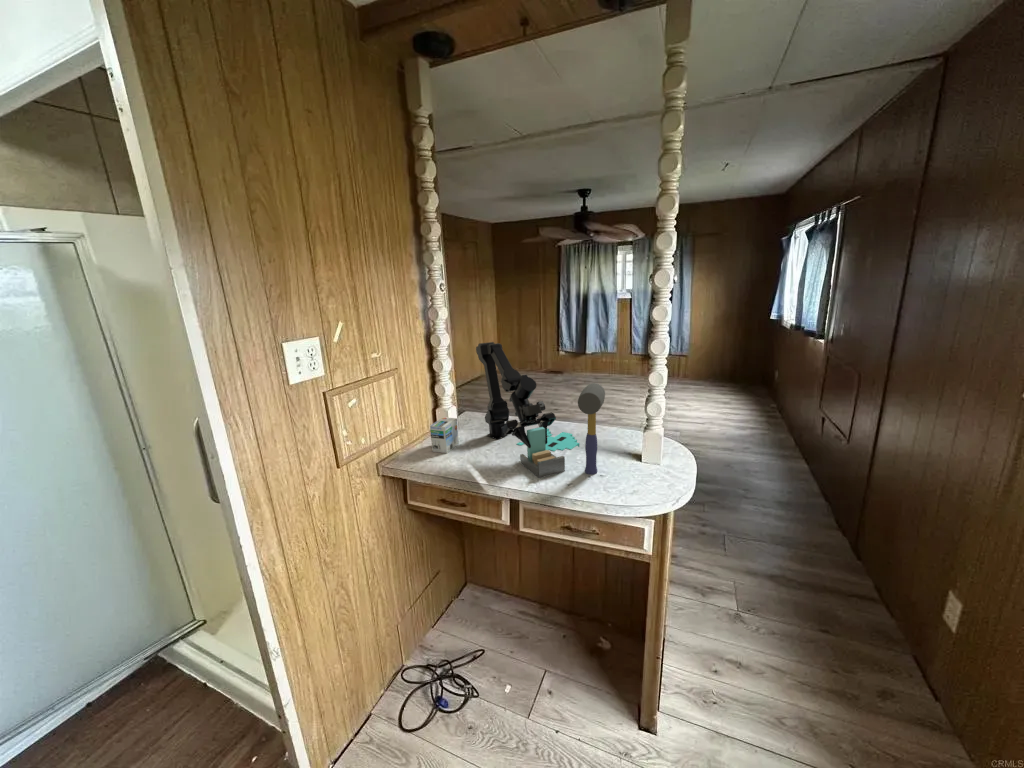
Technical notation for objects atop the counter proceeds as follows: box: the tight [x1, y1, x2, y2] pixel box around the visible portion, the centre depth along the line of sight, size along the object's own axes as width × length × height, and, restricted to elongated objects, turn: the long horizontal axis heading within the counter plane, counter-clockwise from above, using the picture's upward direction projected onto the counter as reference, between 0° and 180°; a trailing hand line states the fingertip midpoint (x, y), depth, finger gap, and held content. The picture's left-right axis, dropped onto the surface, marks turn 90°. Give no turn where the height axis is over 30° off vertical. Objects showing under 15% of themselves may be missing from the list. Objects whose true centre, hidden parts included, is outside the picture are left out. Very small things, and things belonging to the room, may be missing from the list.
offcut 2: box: [537, 455, 555, 462], centre depth 129 cm, size 2×6×4 cm, turn 116°
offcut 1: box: [532, 450, 552, 465], centre depth 131 cm, size 2×6×5 cm, turn 116°
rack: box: [518, 453, 566, 479], centre depth 132 cm, size 14×10×6 cm
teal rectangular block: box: [526, 426, 546, 461], centre depth 133 cm, size 2×6×11 cm, turn 116°
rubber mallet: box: [577, 382, 606, 476], centre depth 124 cm, size 12×8×30 cm, turn 160°
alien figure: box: [515, 428, 580, 452], centre depth 153 cm, size 20×2×20 cm
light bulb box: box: [429, 416, 460, 454], centre depth 153 cm, size 11×7×11 cm, turn 161°
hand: (538, 445), depth 132 cm, fingers closed on teal rectangular block, 6 cm apart
